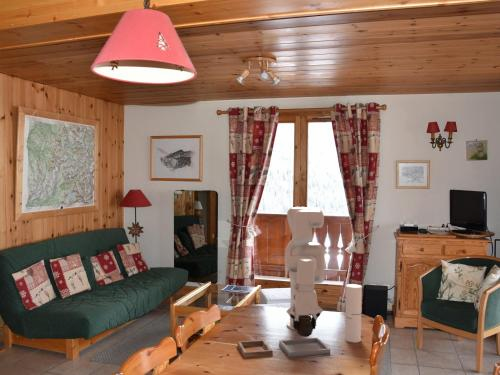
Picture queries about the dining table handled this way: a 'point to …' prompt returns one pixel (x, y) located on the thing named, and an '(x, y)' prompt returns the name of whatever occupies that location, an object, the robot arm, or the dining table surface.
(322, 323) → the dining table surface
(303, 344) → the tray
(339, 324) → the dining table surface
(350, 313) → the cylindrical container
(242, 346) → the tray
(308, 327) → the mate gourd
